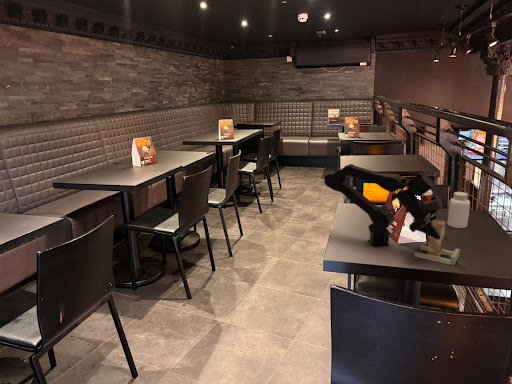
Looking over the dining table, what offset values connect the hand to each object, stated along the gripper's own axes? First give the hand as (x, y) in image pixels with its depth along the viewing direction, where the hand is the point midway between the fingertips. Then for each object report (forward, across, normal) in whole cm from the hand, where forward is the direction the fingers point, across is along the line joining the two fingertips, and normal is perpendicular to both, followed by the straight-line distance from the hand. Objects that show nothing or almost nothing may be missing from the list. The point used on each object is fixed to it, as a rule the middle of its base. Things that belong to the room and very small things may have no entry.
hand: (440, 236), depth 133 cm
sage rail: (+5, 0, +7) cm, 8 cm away
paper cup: (-6, +40, +18) cm, 44 cm away
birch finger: (+4, 0, +6) cm, 7 cm away
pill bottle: (+5, +38, +7) cm, 39 cm away
